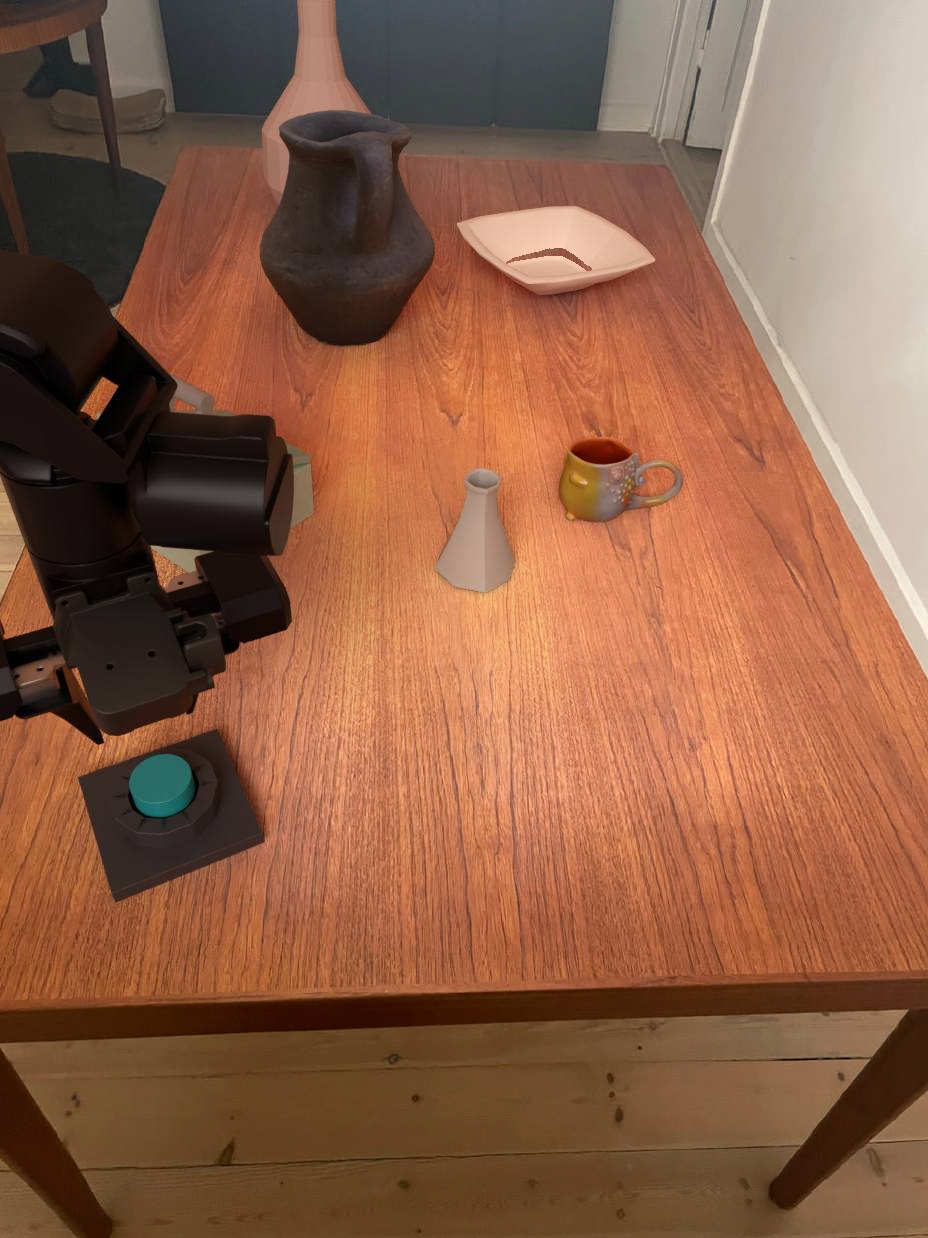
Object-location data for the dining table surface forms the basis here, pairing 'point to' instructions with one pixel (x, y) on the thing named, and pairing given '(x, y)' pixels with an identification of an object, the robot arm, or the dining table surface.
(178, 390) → the lid
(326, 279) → the pitcher
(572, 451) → the mug
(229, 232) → the dining table surface
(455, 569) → the flask
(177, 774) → the button
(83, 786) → the panel
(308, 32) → the vase
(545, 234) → the bowl
